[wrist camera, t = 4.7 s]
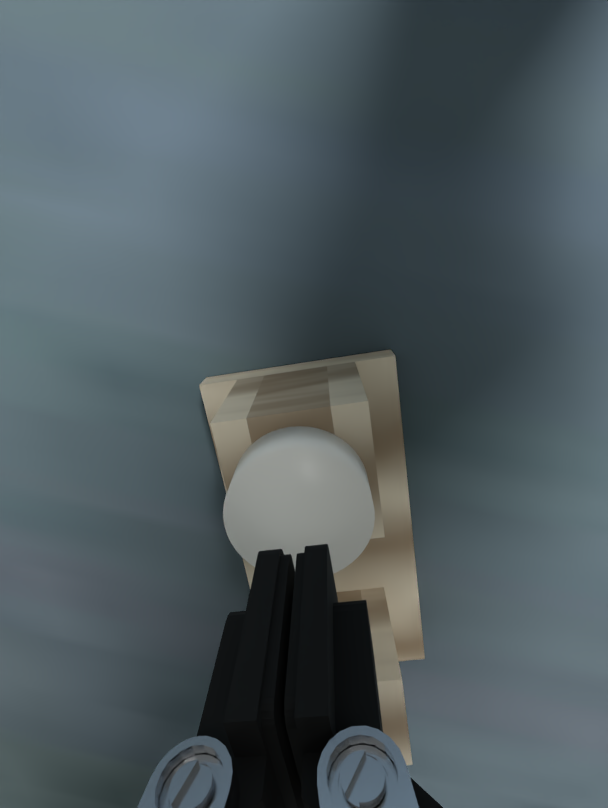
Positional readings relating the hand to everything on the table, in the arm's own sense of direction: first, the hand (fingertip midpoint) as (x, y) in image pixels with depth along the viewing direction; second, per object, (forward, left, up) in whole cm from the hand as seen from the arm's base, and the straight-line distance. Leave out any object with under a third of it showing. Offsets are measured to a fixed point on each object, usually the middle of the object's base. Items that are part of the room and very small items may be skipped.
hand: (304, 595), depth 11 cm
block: (+8, 0, -14) cm, 16 cm away
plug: (+1, 0, -12) cm, 12 cm away
